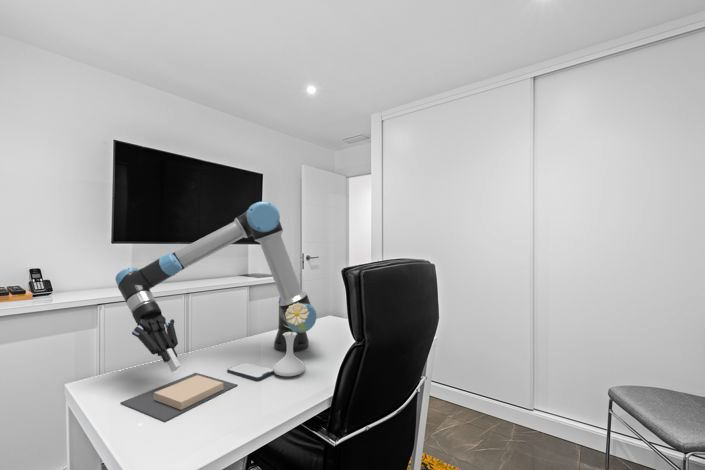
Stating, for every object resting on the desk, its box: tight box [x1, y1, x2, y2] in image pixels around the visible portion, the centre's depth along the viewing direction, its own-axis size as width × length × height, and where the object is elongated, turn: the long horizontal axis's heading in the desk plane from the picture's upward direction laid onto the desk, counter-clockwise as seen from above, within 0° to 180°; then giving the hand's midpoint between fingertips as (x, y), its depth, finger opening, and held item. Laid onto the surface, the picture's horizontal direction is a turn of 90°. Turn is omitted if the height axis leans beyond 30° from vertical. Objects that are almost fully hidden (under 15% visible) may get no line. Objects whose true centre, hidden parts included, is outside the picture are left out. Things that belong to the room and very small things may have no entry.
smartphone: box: [226, 362, 276, 382], centre depth 114 cm, size 9×2×16 cm
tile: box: [154, 375, 223, 410], centre depth 96 cm, size 14×2×12 cm
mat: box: [120, 372, 238, 423], centre depth 97 cm, size 24×20×1 cm
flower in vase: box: [272, 303, 309, 377], centre depth 114 cm, size 13×11×25 cm
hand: (176, 368), depth 99 cm, fingers closed
